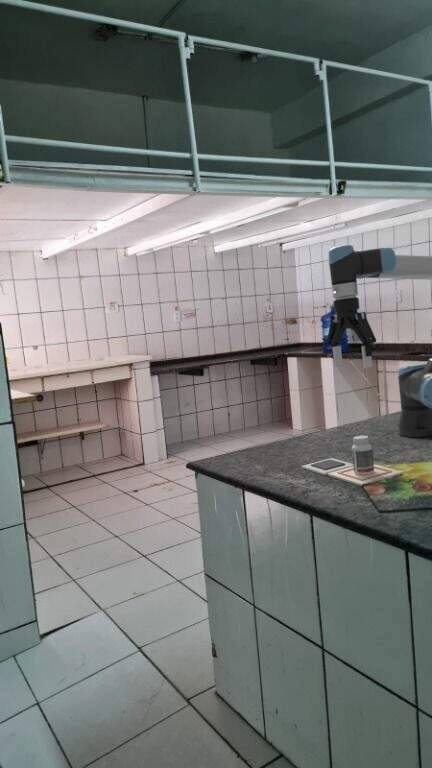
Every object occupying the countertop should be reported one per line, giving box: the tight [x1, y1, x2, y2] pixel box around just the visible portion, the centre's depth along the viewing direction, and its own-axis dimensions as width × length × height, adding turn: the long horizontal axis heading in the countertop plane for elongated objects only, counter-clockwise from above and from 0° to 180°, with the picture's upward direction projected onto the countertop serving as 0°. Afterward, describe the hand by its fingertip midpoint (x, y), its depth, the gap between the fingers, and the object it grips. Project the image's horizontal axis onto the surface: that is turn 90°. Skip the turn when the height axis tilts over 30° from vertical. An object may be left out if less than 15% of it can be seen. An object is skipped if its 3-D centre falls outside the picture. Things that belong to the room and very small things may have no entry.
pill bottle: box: [351, 435, 374, 475], centre depth 151 cm, size 5×5×10 cm
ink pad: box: [300, 457, 353, 476], centre depth 163 cm, size 11×11×1 cm
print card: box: [327, 464, 404, 487], centre depth 152 cm, size 14×14×1 cm
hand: (352, 367), depth 174 cm, fingers open, 13 cm apart
